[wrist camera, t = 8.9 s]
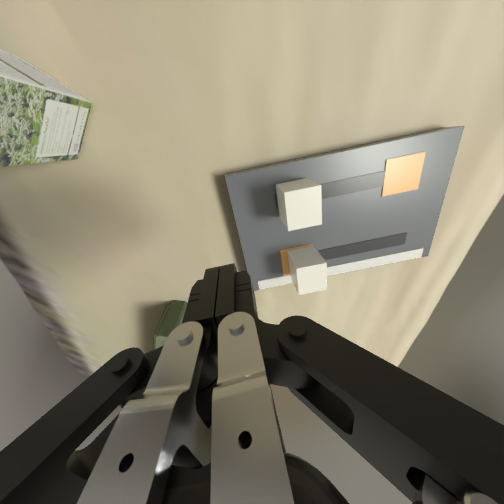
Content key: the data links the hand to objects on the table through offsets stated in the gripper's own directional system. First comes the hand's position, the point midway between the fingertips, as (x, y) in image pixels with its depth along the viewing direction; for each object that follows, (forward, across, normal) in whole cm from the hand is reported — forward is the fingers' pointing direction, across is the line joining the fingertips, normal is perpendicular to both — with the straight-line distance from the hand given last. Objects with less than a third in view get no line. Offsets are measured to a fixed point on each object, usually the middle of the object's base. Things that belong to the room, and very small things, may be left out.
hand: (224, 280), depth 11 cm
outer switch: (+12, -7, +8) cm, 16 cm away
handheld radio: (+15, +16, +24) cm, 32 cm away
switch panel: (+14, -12, +4) cm, 20 cm away
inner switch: (+12, -7, 0) cm, 14 cm away
